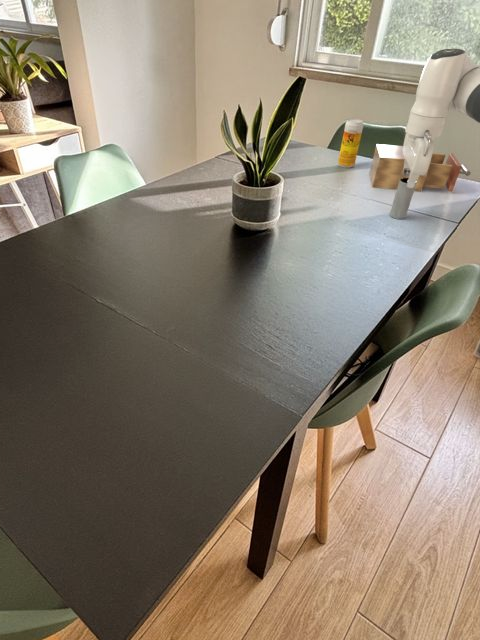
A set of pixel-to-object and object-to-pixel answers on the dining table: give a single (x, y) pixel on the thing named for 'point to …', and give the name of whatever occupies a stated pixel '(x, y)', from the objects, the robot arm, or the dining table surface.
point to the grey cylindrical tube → (402, 199)
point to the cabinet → (390, 168)
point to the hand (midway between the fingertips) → (407, 180)
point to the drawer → (444, 172)
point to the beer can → (350, 143)
